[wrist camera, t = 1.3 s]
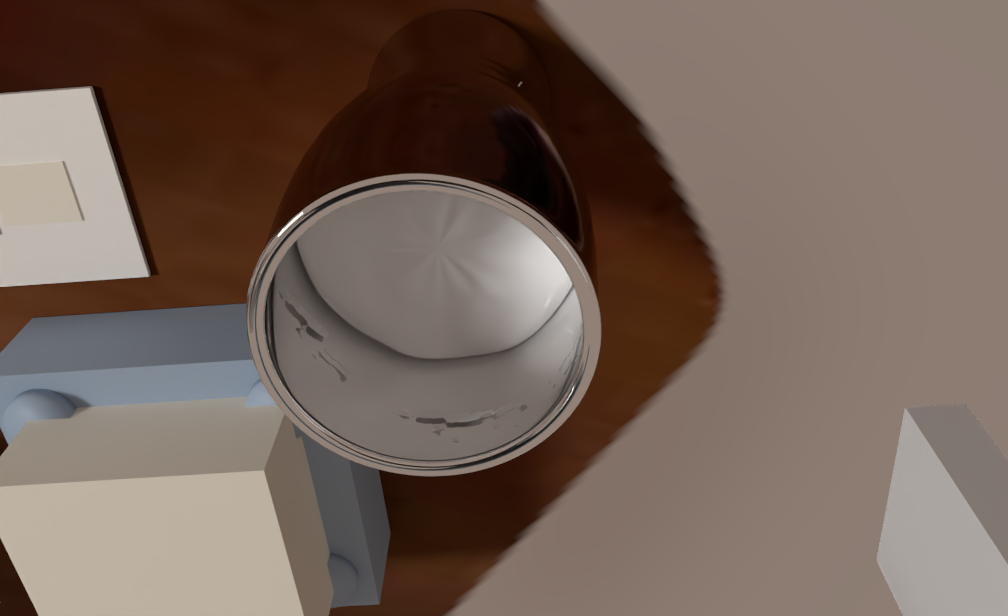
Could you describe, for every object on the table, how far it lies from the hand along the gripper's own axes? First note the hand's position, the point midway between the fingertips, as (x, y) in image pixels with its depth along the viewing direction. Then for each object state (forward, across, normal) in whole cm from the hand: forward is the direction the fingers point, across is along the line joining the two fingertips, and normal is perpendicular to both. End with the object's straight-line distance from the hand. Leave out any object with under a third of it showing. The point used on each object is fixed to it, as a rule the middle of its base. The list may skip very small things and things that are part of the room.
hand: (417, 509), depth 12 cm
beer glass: (+20, 0, 0) cm, 20 cm away
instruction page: (+19, -18, -2) cm, 26 cm away
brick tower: (+19, -12, -13) cm, 26 cm away
